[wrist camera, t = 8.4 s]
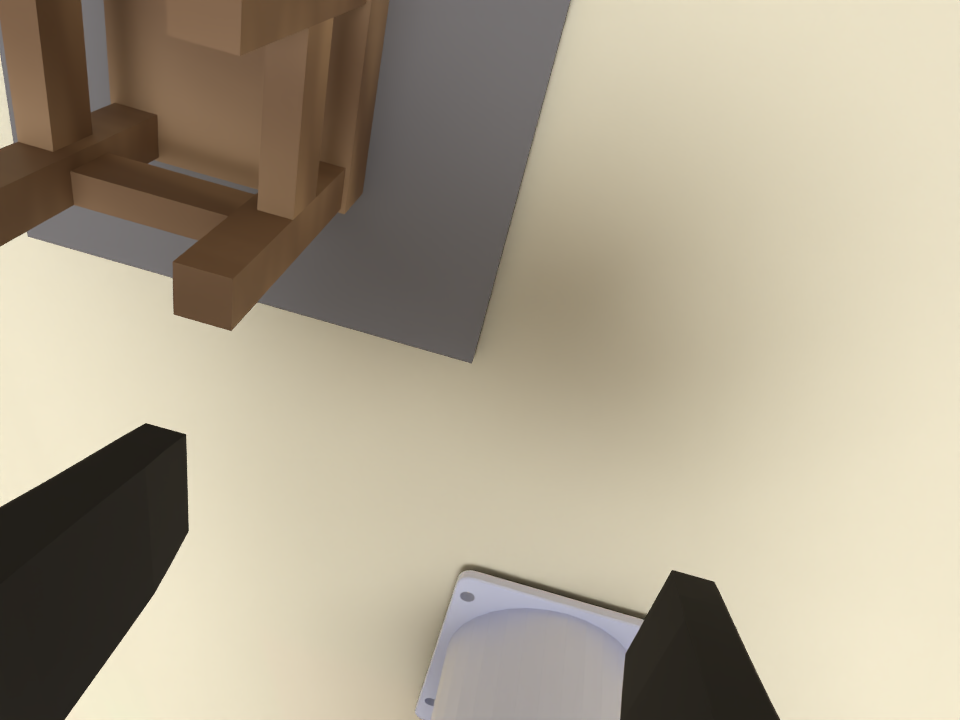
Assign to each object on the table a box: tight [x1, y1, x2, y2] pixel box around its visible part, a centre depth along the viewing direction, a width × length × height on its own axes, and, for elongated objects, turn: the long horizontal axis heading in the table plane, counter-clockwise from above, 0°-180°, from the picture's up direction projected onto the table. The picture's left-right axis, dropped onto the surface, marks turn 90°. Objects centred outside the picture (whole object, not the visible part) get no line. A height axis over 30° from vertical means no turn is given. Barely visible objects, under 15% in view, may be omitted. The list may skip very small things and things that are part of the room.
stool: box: [0, 0, 389, 331], centre depth 13 cm, size 6×6×7 cm
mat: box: [0, 0, 571, 363], centre depth 16 cm, size 13×13×1 cm
